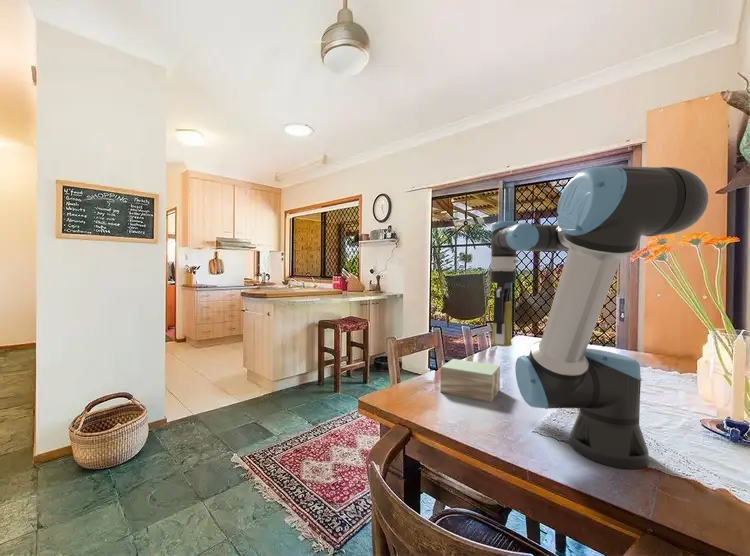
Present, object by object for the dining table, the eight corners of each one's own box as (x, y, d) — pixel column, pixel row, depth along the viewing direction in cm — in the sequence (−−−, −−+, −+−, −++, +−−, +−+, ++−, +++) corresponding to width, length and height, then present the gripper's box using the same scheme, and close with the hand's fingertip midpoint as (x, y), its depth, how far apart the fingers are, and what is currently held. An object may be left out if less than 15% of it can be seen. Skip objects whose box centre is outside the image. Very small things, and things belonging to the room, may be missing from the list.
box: (491, 402, 109) (491, 377, 109) (440, 392, 118) (440, 369, 118) (499, 390, 120) (499, 367, 120) (452, 381, 129) (452, 360, 129)
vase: (508, 342, 113) (509, 299, 112) (514, 347, 107) (515, 301, 106) (489, 342, 114) (490, 299, 113) (494, 346, 108) (494, 301, 107)
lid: (491, 377, 109) (491, 374, 109) (441, 368, 118) (441, 366, 118) (499, 367, 120) (499, 365, 120) (452, 360, 129) (452, 358, 129)
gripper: (509, 270, 99) (507, 349, 100) (520, 270, 115) (519, 338, 116) (483, 270, 104) (482, 346, 104) (498, 269, 119) (496, 335, 120)
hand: (501, 341), depth 110 cm, fingers closed on vase, 6 cm apart
